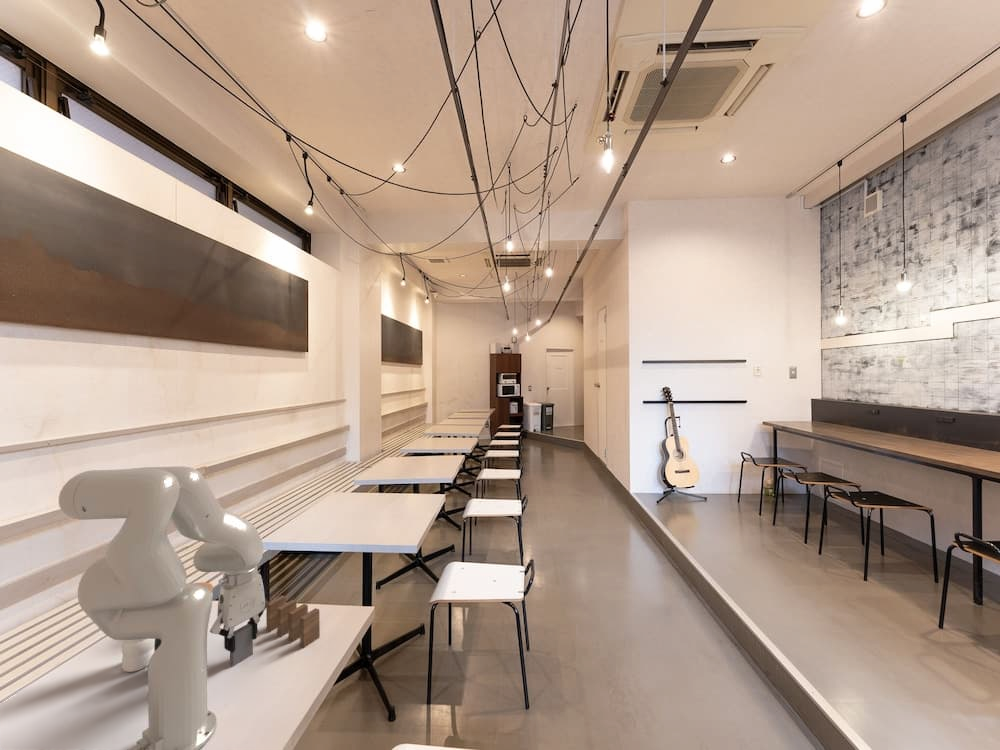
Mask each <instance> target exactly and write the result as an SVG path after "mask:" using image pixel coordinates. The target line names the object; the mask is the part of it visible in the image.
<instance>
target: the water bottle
mask: <svg viewBox="0 0 1000 750" xmlns="http://www.w3.org/2000/svg"><path fill="white" fill-rule="evenodd" d="M154 642H155V639H135V640H122V644H121V653H122V657H121V659H122V660H121V669H122V671H123V672H128V673H132V672H137V671H140V670H143V669H145V668H148V664H149V661H150V658H151V656H152V655H153V653H154Z"/></svg>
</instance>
